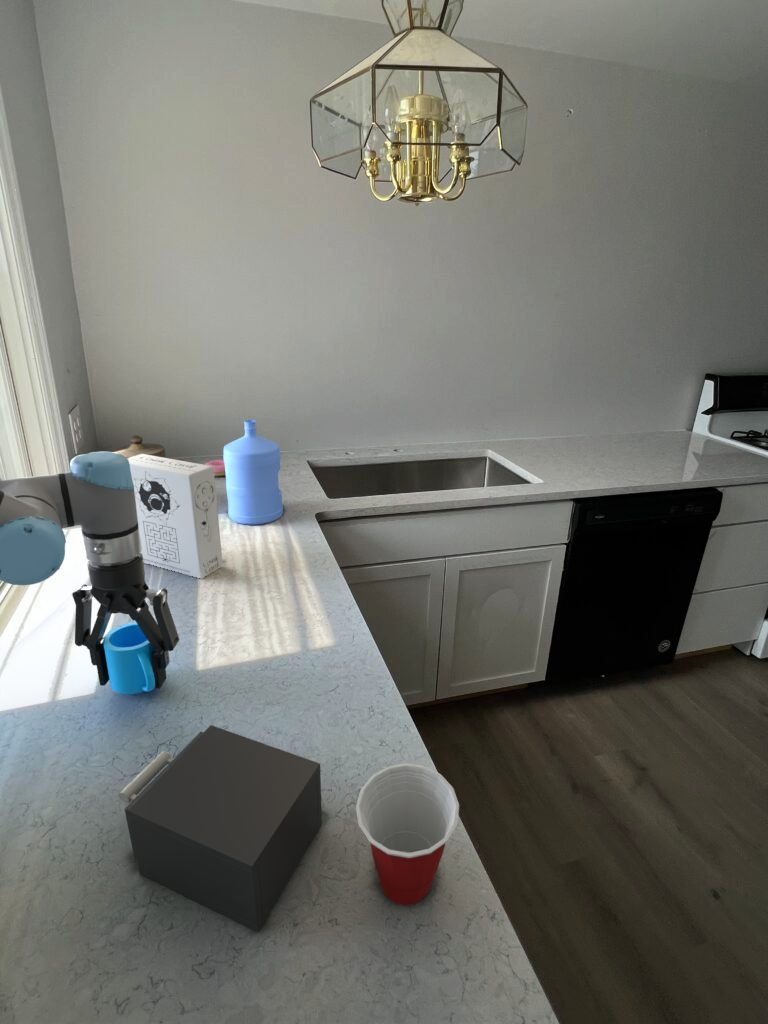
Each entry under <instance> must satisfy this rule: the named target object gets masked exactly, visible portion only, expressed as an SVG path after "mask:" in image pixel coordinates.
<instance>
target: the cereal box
mask: <svg viewBox="0 0 768 1024" xmlns="http://www.w3.org/2000/svg"><path fill="white" fill-rule="evenodd" d="M127 459H128V461H129V464H130V470H131V475H132V480H133V484H134V492H135V501H136V510H137V518H138V527H139V533H140V540H141V546H142V551H141V552H140V553H141V554H142V556H143V563H144V564H146V565H149V564H150V565H149V566H153V565H154V566H153V567H156V566H157V568H160V567H161V569H163V568H165V569H164V570H167V569H168V570H167V571H171V570H172V571H171V572H174V571H175V573H178V572H179V573H178V574H181V573H182V575H185V576H189V577H192V576H193V578H196V577H197V578H196V579H199V578H200V579H201V580H202V579H204V578H206V577H208V576H209V575H211V574H213V573H214V572H216V571H217V570H219V569H220V568H222V567H223V565H224V562H223V552H222V551H223V550H222V542H221V531H220V530H221V529H220V520H219V512H218V499H217V490H216V480H215V476H214V468H213V466H208V465H205V464H202V463H201V464H200V463H196V462H191V461H184V460H181V459H173V458H169V457H166V458H163V457H157V456H152V455H146V454H140V455H136V456H133V457H130V458H127ZM210 573H211V574H210ZM205 576H206V577H205ZM200 579H199V580H200Z"/></svg>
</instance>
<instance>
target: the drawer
mask: <svg viewBox="0 0 768 1024" xmlns="http://www.w3.org/2000/svg"><path fill="white" fill-rule="evenodd" d="M204 732H205V731H200V732H198V734H197V735H196V736H195V737H193V739H192V740H191V741H190V742H189V743H188V744H187V745H186V746H185V747H184V748H183V749H182V750H181V751H180V752H179V753H178V754H177V755H176V756H174V757H172V756H171V754H170V753H169V752H168V751H167V750H162V751H161V752H160V753H159V754H158V755H157V756H156V757H154V759H153V760H152V761H150V763H148V765H146V767H144V768H143V769H142V771H140V772H139V773H138V774H137V775H136V776H135V777H134V778H133V779H132V780H131V781H130V782H129V783H128V784H126V786H125V787H124V788H123V789H122V790H121V791H120V792H118V799H119V800H120V802H122V803H124V804H127V806H126V807H125V808H124V813H125V819H126V823H127V828H128V835H129V839H130V843H131V848H132V854H133V857H134V860H135V861H137V857H136V852H135V847H134V842H133V837H132V832H131V827H130V822H129V817H128V812H127V810H128V809H129V808H130V807H131V806H132V805H133V804H134V803H135V802H136V801H137V800H138V799H139V798H140V797H141V796H142V795H143V794H144V793H145V792H146V791H147V790H148V789H149V788H150V787H151V786H152V785H153V784H154V783H155V782H156V781H157V780H158V779H159V778H160V777H161V776H162V775H163V774H164V773H165V772H166V771H167V769H168V768H169V767H170V766H171V765H172V764H173V763H174V762H175V761H176V760H177V759H178V758H179V757H180V756H181V755H182V754H183V753H184V752H185V751H186V750H187V749H188V748H189V747H190V746H191V745H192V744H193V743H194V742H195V741H196V740H197V739H198V738H199V737H200V736H201V735H202V734H203V733H204Z"/></svg>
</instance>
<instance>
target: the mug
mask: <svg viewBox="0 0 768 1024" xmlns="http://www.w3.org/2000/svg"><path fill="white" fill-rule="evenodd" d="M103 637H104V639H103V640H102V642H103V644H104V650H105V656H106V662H107V668H108V674H109V684H110V688H111V689H112V691H114V692H116V693H119V694H121V695H122V694H123V695H132V694H133V695H134V694H139V693H142V692H146V693H149V692H151V691H153V690H154V689H155V678H154V673H153V668H152V661H151V654H152V652H153V651H154V649H153V647H152V646H151V644H150V643H149V641H148V640H147V638H146V636H145V635H144V633H143V632H142V630H141V629H140V627H139V626H138V624H137V623H136V621H135V622H129V623H125V624H121V625H118V626H115V628H112V629H111V630H109V631H108V632H107V633H106V634H104V636H103Z"/></svg>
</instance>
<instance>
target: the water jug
mask: <svg viewBox="0 0 768 1024" xmlns="http://www.w3.org/2000/svg"><path fill="white" fill-rule="evenodd" d="M243 423H244V427H243V428H244V435H243V436H241V437H239V438H236V439H235V440H233V441H231V442H229V443H227V444H225V445H224V447H223V449H222V450H223V456H222V457H223V460H224V463H225V474H226V476H225V490H226V496H227V506H228V507H227V515H228V517H229V519H230V520H231V521H233V522H234V523H237V524H241V525H251V526H252V525H253V526H254V525H255V526H256V525H264V524H268V523H272V522H275V521H277V520H278V519H280V518H281V517H282V516H283V514H284V505H283V495H282V494H283V493H282V489H280V485H279V473H280V470H281V450H280V446H279V444H278V443H276V441H272V440H270V439H268V438H265V437H262V436H260V435H258V434H257V426H256V423H257V420H255V419H245V420H244V421H243Z"/></svg>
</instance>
